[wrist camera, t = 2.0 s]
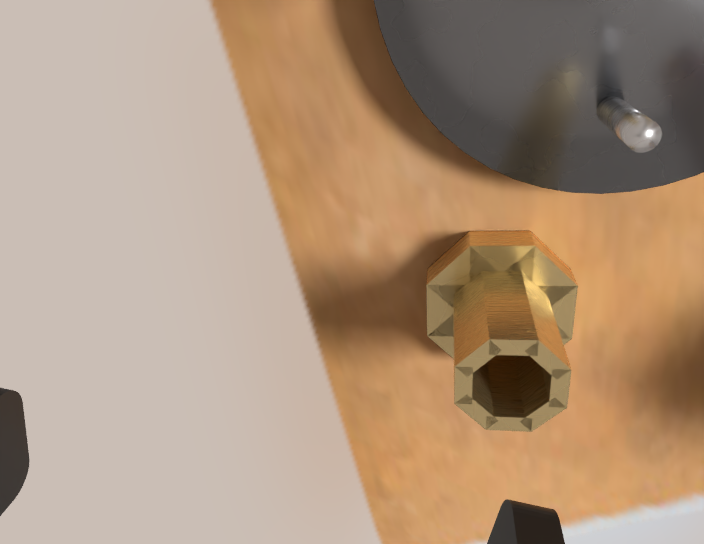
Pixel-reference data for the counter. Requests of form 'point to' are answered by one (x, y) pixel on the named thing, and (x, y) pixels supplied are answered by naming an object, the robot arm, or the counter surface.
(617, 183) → the carrier
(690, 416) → the counter surface
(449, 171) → the counter surface
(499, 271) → the flanged sleeve
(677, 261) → the counter surface
